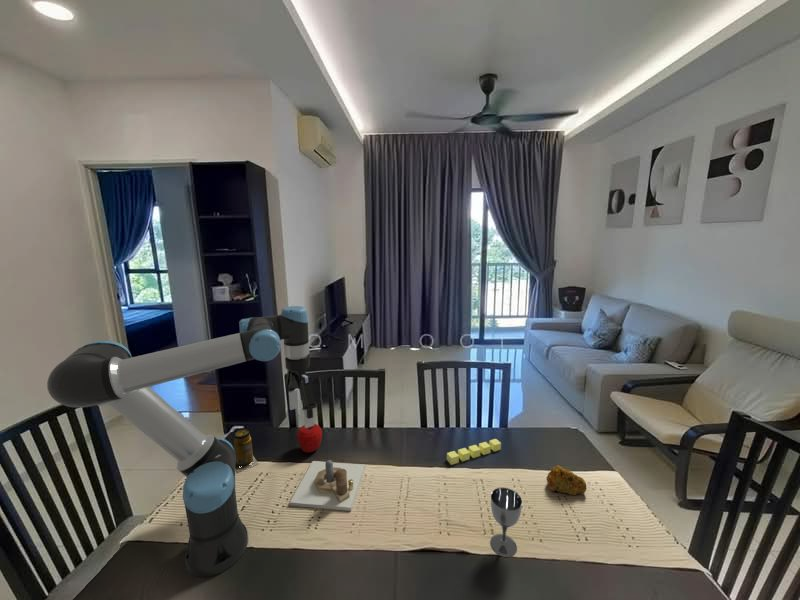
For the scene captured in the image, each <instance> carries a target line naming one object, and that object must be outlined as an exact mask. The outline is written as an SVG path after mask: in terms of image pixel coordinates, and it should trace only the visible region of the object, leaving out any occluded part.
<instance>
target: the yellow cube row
mask: <svg viewBox="0 0 800 600" xmlns="http://www.w3.org/2000/svg"><path fill="white" fill-rule="evenodd" d="M491 450H492V451H493V452H499V451H500V450H501V451H502V442H501V441H499V440H498V439H497V438H493V439H490V440H489V441H488V442H487V441H483V442H480V443H478V445H477V444H473V445H469V446H468V449H467V448H466V447H463V448H460V449H458V450H457V452H456V451H455V450H453V451H449V452H446V461H447V462H448V463H449V464H450V465H451V466H452V465H455V464H459V463H460V460H461V462H465V461H468V460H470V457H471V458H473V459H475V458H478V457H481V454H482V455H483V456H485V455H488V454H491Z"/></svg>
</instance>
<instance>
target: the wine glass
mask: <svg viewBox="0 0 800 600" xmlns="http://www.w3.org/2000/svg"><path fill="white" fill-rule="evenodd" d="M522 506H523V500H522V498H521V496H520V494H519V493H518V492H517V491H515V490H514V489H511V488H507V487H497V488H494V490H492V491H491V493H490V509H491V513H492V517H493V518H494V520H495V522H497V524H499V525H500V526H501V530H502V531H501V532H502V533H496V534H494V535H493V536H492V537H490V543H489V544H490V547H491V549H492V550H493V552H495V554H497V555H498V556H500V557H502V558H503V557H504V558H511V557H514V556H515V555H516V554H517V552H518V545H517V543H516V541H515V540H514V539H513V538H512V537H511V536H509V535H507V530H508V529H509V528H511V527H514V526H515V525H516V524H517V523H518V522H519V519H520V517H521V513H522V508H523V507H522Z"/></svg>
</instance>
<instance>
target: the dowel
mask: <svg viewBox="0 0 800 600" xmlns="http://www.w3.org/2000/svg"><path fill="white" fill-rule="evenodd" d="M348 485H349V490H353V480H352V479H350V480H349V481H348Z"/></svg>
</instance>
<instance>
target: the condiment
mask: <svg viewBox="0 0 800 600" xmlns="http://www.w3.org/2000/svg"><path fill="white" fill-rule="evenodd" d="M233 438H234V440H233V449H234V452H235V456H236V461H235V471H237V473H239V472H240V473H241V472H243V471H245V470H248V469H251V468H252V467H255V466H257V465H259V462H258V461H257V459H256V458H255V456H254V454H253V452H254V451H253V442H252V437H251V434H250V431H249V430H248V429H240V430H237V431H235V433H234V434H233ZM251 462H254V463H252V465H253V466H252V465H249V464H250V463H251ZM239 466H240V467H241V466H242V467H241V468H239Z"/></svg>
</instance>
